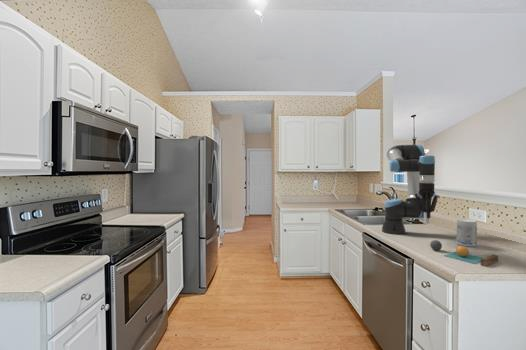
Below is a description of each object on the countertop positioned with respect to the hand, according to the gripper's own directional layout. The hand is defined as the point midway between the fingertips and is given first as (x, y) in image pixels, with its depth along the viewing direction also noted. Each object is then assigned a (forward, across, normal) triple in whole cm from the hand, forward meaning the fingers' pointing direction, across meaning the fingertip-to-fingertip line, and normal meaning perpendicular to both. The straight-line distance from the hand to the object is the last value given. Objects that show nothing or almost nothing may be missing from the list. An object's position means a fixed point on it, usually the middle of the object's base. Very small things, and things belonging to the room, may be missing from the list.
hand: (426, 223), depth 155 cm
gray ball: (+11, +6, 0) cm, 13 cm away
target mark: (+14, +20, 0) cm, 24 cm away
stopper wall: (+14, +30, 0) cm, 33 cm away
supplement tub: (+14, +9, +26) cm, 31 cm away
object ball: (+11, +18, 0) cm, 22 cm away
